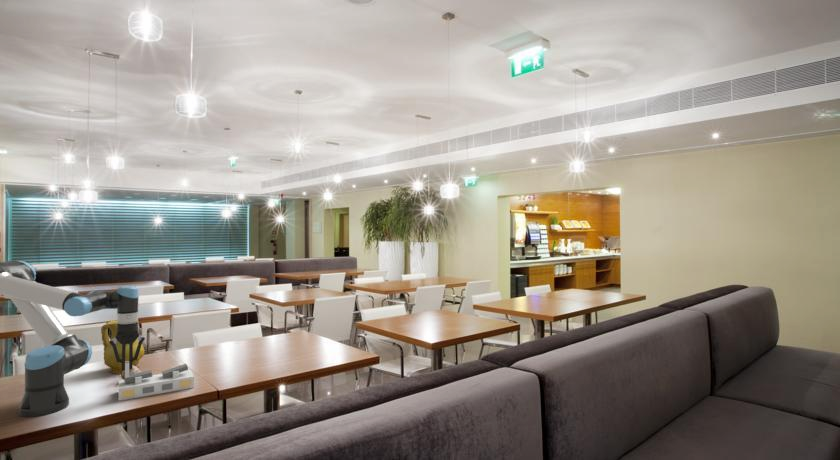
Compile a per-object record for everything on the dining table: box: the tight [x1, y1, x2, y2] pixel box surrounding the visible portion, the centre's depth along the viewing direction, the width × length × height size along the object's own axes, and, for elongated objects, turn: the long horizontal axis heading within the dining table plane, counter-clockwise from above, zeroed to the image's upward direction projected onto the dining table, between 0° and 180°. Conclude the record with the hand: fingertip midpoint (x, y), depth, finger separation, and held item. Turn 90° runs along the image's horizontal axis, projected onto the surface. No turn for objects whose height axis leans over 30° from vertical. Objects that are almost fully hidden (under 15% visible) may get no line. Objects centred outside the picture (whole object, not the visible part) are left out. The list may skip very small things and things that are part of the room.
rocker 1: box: [124, 369, 153, 383], centre depth 189 cm, size 10×5×2 cm, turn 124°
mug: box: [120, 365, 142, 380], centre depth 205 cm, size 8×10×10 cm
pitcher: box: [100, 319, 145, 374], centre depth 221 cm, size 17×19×25 cm
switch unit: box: [118, 366, 195, 401], centre depth 193 cm, size 28×12×8 cm, turn 125°
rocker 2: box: [161, 363, 189, 378], centre depth 197 cm, size 10×5×2 cm, turn 124°
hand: (126, 377), depth 187 cm, fingers closed
